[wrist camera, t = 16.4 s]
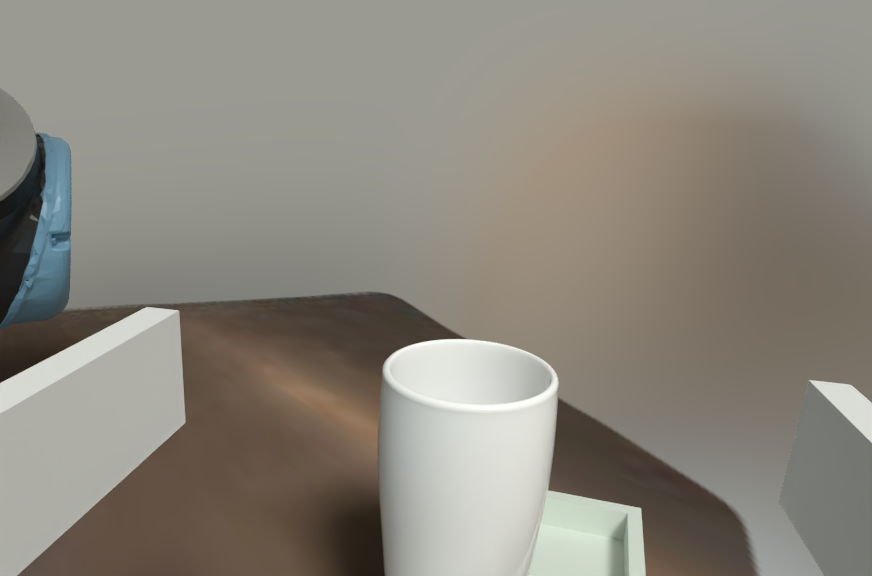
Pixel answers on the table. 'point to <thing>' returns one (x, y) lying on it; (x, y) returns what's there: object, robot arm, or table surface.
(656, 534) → the table surface
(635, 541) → the tray
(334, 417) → the table surface
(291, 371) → the table surface
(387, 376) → the drinking glass
